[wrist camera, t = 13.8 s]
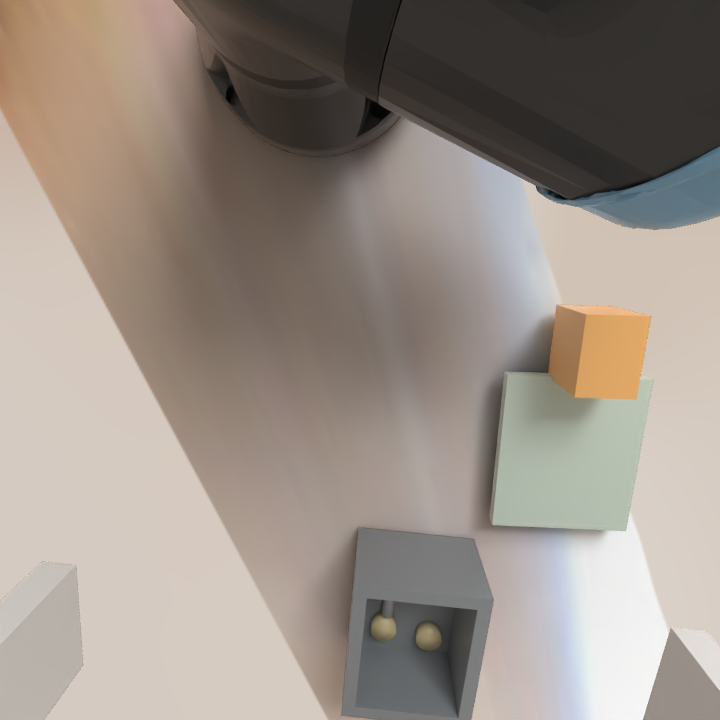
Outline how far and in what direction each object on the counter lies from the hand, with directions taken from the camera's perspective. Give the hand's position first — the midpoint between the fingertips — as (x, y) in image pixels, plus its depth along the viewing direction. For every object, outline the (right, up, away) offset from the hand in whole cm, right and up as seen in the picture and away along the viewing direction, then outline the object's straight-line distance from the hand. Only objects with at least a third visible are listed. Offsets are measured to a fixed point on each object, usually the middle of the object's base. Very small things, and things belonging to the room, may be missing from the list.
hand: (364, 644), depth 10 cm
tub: (+4, -14, +31) cm, 34 cm away
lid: (+16, +2, +27) cm, 31 cm away
